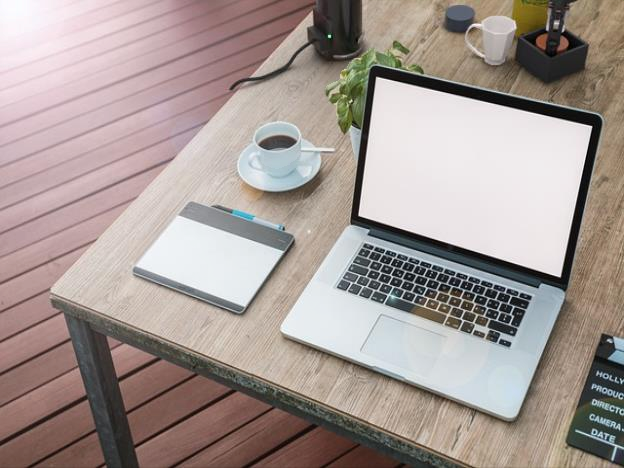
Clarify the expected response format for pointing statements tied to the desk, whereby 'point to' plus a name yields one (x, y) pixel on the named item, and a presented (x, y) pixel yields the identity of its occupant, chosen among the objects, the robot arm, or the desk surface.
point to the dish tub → (553, 66)
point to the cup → (495, 38)
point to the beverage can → (529, 15)
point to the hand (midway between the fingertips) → (551, 49)
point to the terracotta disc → (542, 46)
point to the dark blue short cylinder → (459, 18)
